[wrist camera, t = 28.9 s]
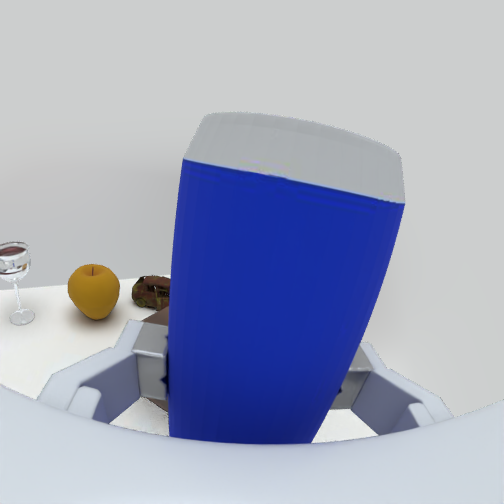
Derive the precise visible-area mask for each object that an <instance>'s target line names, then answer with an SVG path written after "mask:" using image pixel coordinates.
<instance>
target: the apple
mask: <svg viewBox="0 0 504 504" xmlns="http://www.w3.org/2000/svg"><path fill="white" fill-rule="evenodd" d="M119 290H120V284H119V281H118V278H117V277H116V276H115V274H114V273H113V272H112V271H111V270H110V269H109V268H107V267H105V266H102V265H95V264H89V265H84V266H81V267H79V268H78V269H77V270H75V272H74V273H73V274H72V275H71V277H70V278H69V281H68V294H69V297H70V298H71V300H72V301H73V303H74V304H75V305H76V306H77V307H78V309H79V310H80V311H81V312H82V313H84V314H85V315H86V316H87V317H89V318H91V319H94V320H98V319H103V318H105V317H106V316H107V315H108V314H109V313H110V312H111V311H112V309H113V308H114V306H115V305H116V303H117V300H118V297H119Z"/></svg>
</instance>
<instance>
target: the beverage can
mask: <svg viewBox="0 0 504 504" xmlns="http://www.w3.org/2000/svg"><path fill="white" fill-rule="evenodd" d="M404 206H405V193H404V182H403V171H402V162H401V157H400V155H399V153H397V152H396V151H395V150H393V149H392V148H390V147H388V146H387V145H385V144H382V143H380V142H378V141H376V140H373V139H371V138H368V137H366V136H363V135H360V134H357V133H354V132H351V131H348V130H344V129H341V128H338V127H334V126H330V125H326V124H322V123H317V122H313V121H308V120H303V119H298V118H292V117H286V116H280V115H272V114H263V113H250V112H249V113H248V112H221V113H213V114H208V115H206V116H204V118H203V119H202V121H201V123H200V125H199V128H198V129H197V131H196V133H195V135H194V137H193V139H192V141H191V143H190V145H189V148H188V149H187V151H186V153H185V156H184V158H183V162H182V170H181V177H180V184H179V192H178V202H177V210H176V219H175V229H174V240H173V252H172V265H171V280H170V298H169V322H168V414H169V437H175V438H182V439H190V440H199V441H208V442H220V443H235V444H308V443H311V442H312V440H313V439H314V437H315V435H316V433H317V432H318V430H319V428H320V426H321V424H322V422H323V421H324V419H325V417H326V415H327V413H328V411H329V409H330V407H331V405H332V403H333V401H334V399H335V397H336V395H337V393H338V391H339V389H340V387H341V385H342V383H343V381H344V379H345V376H346V374H347V372H348V370H349V368H350V365H351V363H352V361H353V359H354V356H355V354H356V352H357V349H358V347H359V345H360V342H361V340H362V337H363V335H364V332H365V330H366V327H367V325H368V322H369V320H370V317H371V314H372V311H373V309H374V306H375V303H376V301H377V298H378V295H379V292H380V289H381V286H382V283H383V280H384V277H385V274H386V271H387V268H388V264H389V261H390V258H391V255H392V251H393V248H394V245H395V241H396V237H397V234H398V230H399V226H400V222H401V218H402V214H403V210H404Z"/></svg>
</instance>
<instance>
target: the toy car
mask: <svg viewBox="0 0 504 504" xmlns="http://www.w3.org/2000/svg"><path fill="white" fill-rule="evenodd" d="M144 277H146V278H145V279H144ZM170 280H171V279H169V278H166V277H165V278H164V277H163V276H162V277H160V276H143V277H140V278H139V280H138V281H137V282H136V283H135V285H134V286H133V287H132V299H133V300H134V301H135V302H136V303H137V305H138V306H139V307H144V306H145V304H146V306H151V307H156V308H157V311H160V310H162V309H164V308H166V307H168V306H169V298H170V296H169V295H170ZM154 286H155V287H154ZM155 288H156V289H155ZM159 293H160V294H159ZM165 294H166V295H165Z"/></svg>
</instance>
